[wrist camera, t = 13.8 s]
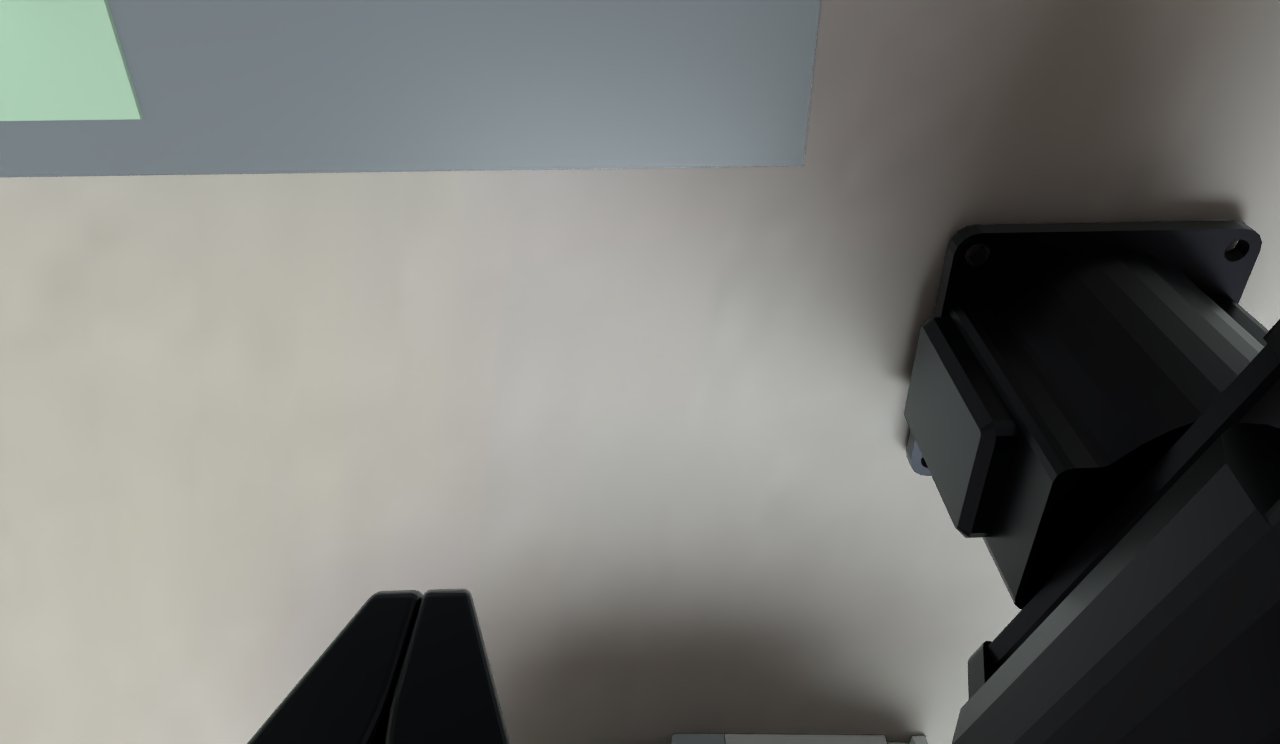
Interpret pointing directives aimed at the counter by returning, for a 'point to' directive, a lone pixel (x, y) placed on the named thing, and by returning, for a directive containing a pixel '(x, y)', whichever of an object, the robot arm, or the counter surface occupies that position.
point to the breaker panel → (401, 85)
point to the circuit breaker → (785, 739)
